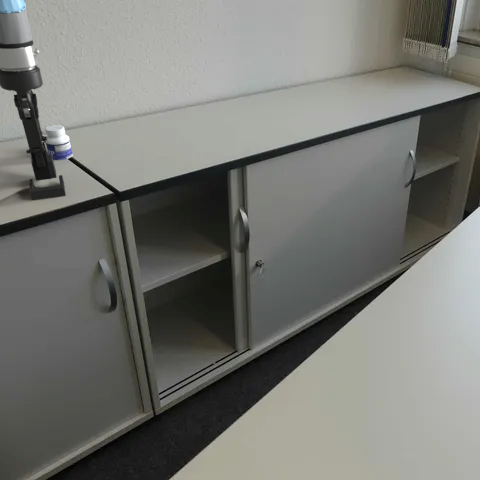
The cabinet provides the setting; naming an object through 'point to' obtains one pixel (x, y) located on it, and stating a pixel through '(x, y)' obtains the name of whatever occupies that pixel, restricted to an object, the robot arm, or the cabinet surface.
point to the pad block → (51, 166)
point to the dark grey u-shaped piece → (47, 190)
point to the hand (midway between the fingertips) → (44, 174)
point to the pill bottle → (58, 143)
